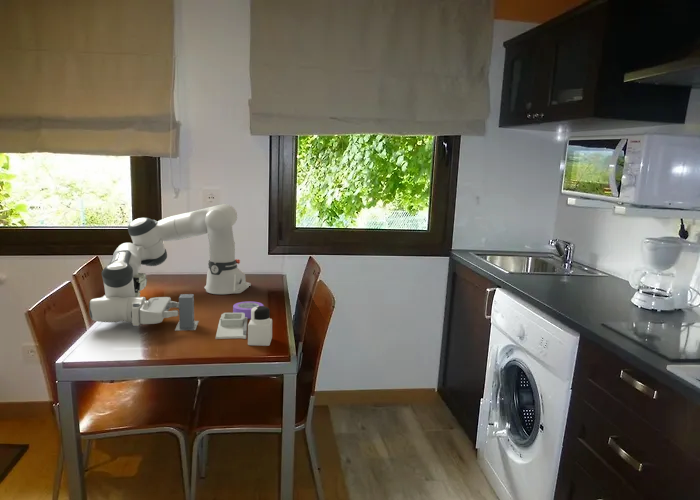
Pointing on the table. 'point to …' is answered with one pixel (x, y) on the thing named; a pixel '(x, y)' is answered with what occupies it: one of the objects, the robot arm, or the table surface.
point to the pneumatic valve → (139, 283)
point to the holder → (232, 326)
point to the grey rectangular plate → (187, 328)
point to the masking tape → (245, 307)
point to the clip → (186, 310)
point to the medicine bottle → (260, 327)
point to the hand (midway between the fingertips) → (180, 309)
